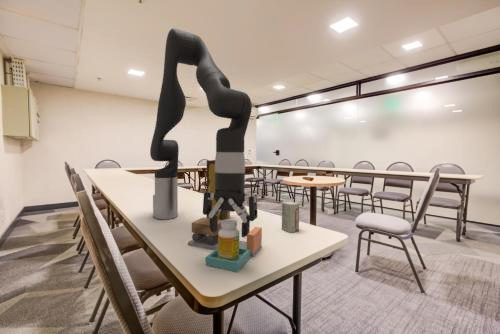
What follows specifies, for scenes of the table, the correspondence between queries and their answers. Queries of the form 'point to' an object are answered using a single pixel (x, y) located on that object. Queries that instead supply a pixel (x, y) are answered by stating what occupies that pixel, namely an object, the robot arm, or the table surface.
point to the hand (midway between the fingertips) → (229, 233)
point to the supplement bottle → (228, 240)
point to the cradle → (227, 264)
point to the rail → (252, 241)
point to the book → (211, 187)
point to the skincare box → (290, 216)
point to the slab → (204, 230)
